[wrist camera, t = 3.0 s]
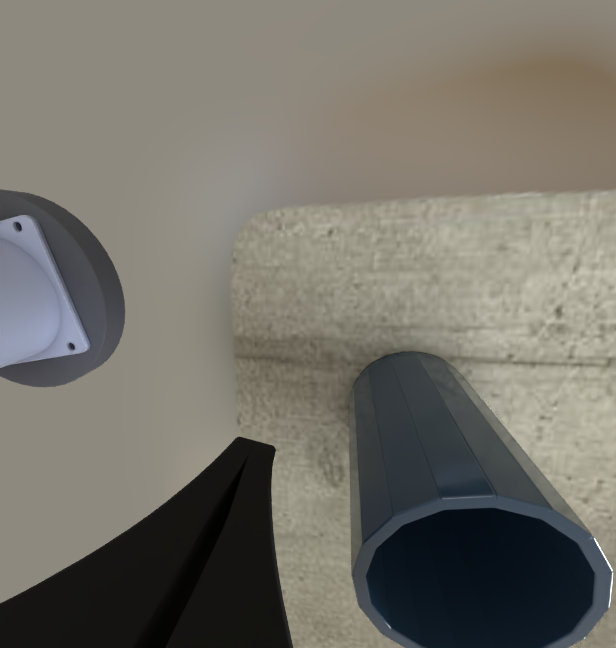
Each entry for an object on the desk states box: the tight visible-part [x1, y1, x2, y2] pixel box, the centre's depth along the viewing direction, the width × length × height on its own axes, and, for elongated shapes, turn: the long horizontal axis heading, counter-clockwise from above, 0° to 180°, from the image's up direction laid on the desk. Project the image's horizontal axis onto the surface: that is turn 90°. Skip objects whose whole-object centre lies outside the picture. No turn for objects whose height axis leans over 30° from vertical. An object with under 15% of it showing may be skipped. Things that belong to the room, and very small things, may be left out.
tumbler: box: [349, 352, 613, 648], centre depth 12 cm, size 6×6×9 cm
